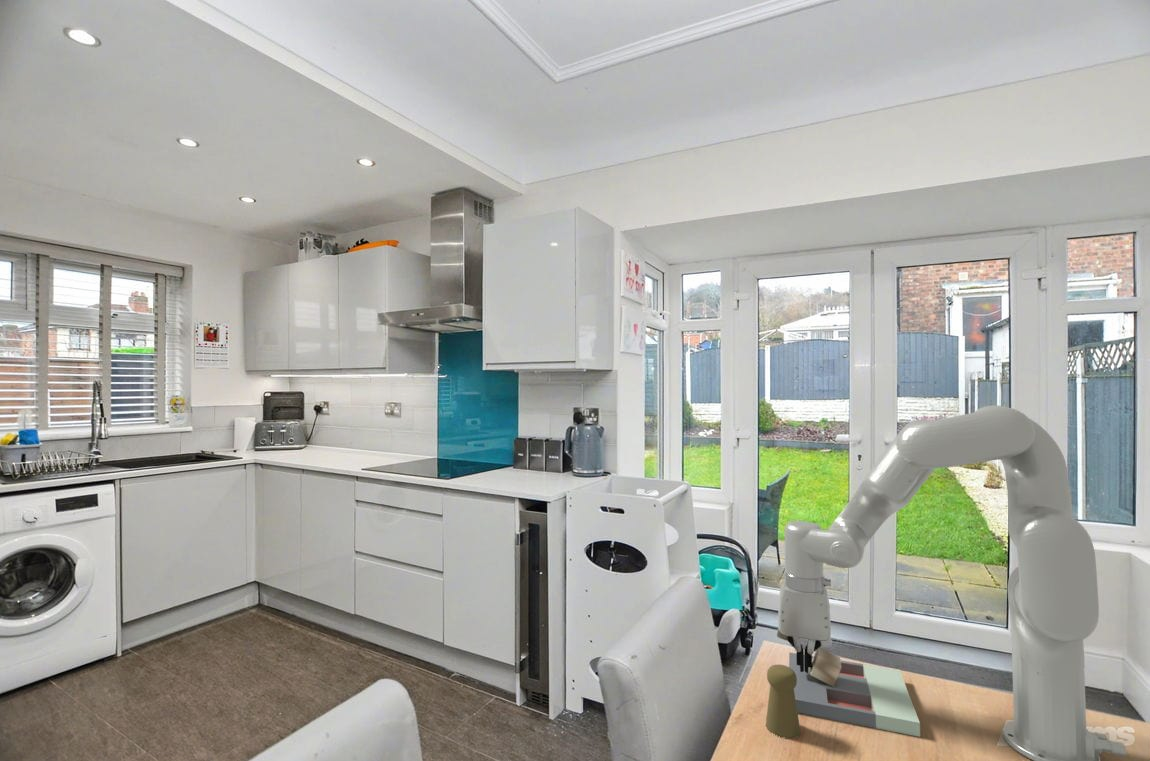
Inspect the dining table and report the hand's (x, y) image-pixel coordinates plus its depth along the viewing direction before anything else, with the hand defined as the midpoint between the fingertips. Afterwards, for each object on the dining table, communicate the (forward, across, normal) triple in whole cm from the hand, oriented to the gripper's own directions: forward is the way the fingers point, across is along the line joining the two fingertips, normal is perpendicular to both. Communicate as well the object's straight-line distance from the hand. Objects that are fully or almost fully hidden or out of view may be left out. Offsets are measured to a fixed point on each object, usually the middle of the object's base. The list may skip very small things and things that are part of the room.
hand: (804, 669), depth 114 cm
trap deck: (+4, -8, 0) cm, 9 cm away
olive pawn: (+4, +4, +16) cm, 17 cm away
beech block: (+1, -3, 0) cm, 3 cm away
